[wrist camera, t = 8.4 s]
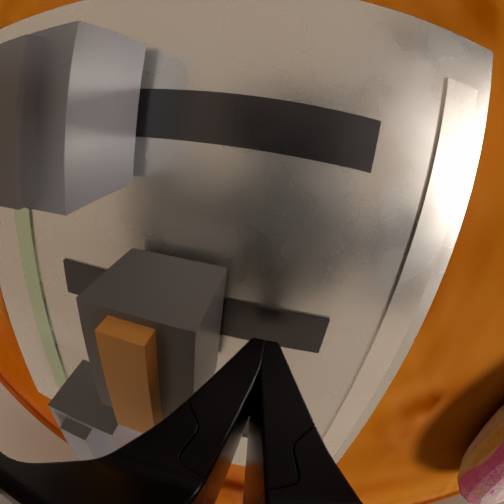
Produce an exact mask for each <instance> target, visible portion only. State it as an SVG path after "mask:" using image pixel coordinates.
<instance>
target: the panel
mask: <svg viewBox="0 0 504 504" xmlns="http://www.w3.org/2000/svg"><path fill="white" fill-rule="evenodd" d="M74 21H83V22H86V23H89V24H93V25H96V26H99V27H102V28H105V29H108V30H111V31H114V32H117V33H120V34H123V35H125V36H128V37H131V38H134V39H136V40H139V41H142V42H144V43H147V45H146V51H145V58H144V64H143V71H142V79H141V86H140V95H139V103H138V113H137V124H136V136H135V150H134V167H133V183H132V184H130V185H128V186H126V187H124V188H121V189H119V190H117V191H115V192H113V193H111V194H109V195H107V196H104V197H102V198H100V199H98V200H96V201H94V202H92V203H90V204H88V205H86V206H84V207H82V208H80V209H78V210H76V211H74V212H72V213H70V214H68V215H67V216H65V215H60V214H55V213H49V212H44V211H39V210H34V209H28V208H22V209H20V210H16V209H11V208H6V207H1V206H0V286H1V290H2V294H3V298H4V301H5V305H6V308H7V311H8V315H9V318H10V321H11V324H12V327H13V330H14V333H15V336H16V338H17V341H18V344H19V347H20V349H21V352H22V355H23V357H24V360H25V362H26V365H27V367H28V369H29V372H30V374H31V376H32V379H33V381H34V383H35V385H36V388H37V390H38V392H39V393H41V394H43V395H45V396H47V397H49V398H50V399H53V397H54V396H55V395H56V393H57V392H58V391H59V390H60V388H61V387H62V386H63V384H64V383H65V382H66V380H67V379H68V378H69V377H70V375H71V374H72V373H73V371H74V370H75V369H76V368H77V366H78V365H79V364H80V362H81V361H82V360H83V359H84V360H86V361H89V358H88V354H87V350H86V345H85V341H84V337H83V332H82V327H81V322H80V317H79V312H78V307H77V301H76V297H77V296H78V295H79V294H80V293H82V292H83V291H84V290H85V289H86V288H87V287H88V286H89V285H90V284H91V283H93V282H94V281H95V280H96V279H97V278H98V277H99V276H100V275H102V274H103V273H104V272H105V271H106V270H107V269H108V268H109V267H111V266H112V265H113V264H114V263H115V262H116V261H118V260H119V259H120V258H121V257H122V256H123V255H124V254H126V253H127V252H128V251H129V250H130V249H132V248H136V249H141V250H145V251H150V252H155V253H159V254H164V255H169V256H174V257H178V258H183V259H188V260H193V261H198V262H203V263H207V264H212V265H217V266H222V267H227V277H226V285H225V294H224V303H223V311H222V320H221V329H220V339H219V348H218V357H217V367H216V370H215V373H216V372H217V371H218V370H219V369H220V368H222V367H223V366H224V365H225V364H226V363H227V362H228V361H229V360H230V359H231V358H232V357H233V356H234V355H235V354H236V353H237V352H238V351H239V350H240V349H241V348H242V347H243V346H244V345H245V344H246V343H247V342H248V341H249V340H250V339H252V338H258V339H263V340H265V341H266V340H268V341H273V342H278V343H279V345H280V347H281V349H282V352H283V354H284V356H285V358H286V361H287V363H288V365H289V367H290V370H291V372H292V374H293V376H294V378H295V381H296V383H297V385H298V387H299V390H300V392H301V394H302V396H303V398H304V401H305V403H306V405H307V407H308V410H309V412H310V414H311V416H312V418H313V421H314V423H315V426H316V427H317V429H318V431H319V434H320V436H321V438H322V440H323V442H324V444H325V446H326V448H327V450H328V451H329V453H330V455H331V456H332V458H333V460H334V461H335V463H336V464H337V462H338V461H339V460H340V458H341V457H342V456H343V454H344V453H345V452H346V450H347V449H348V448H349V446H350V445H351V443H352V442H353V441H354V439H355V438H356V436H357V435H358V434H359V432H360V431H361V429H362V428H363V426H364V425H365V423H366V422H367V420H368V419H369V417H370V416H371V414H372V413H373V411H374V410H375V408H376V406H377V405H378V403H379V402H380V400H381V398H382V397H383V395H384V394H385V392H386V390H387V389H388V387H389V385H390V384H391V382H392V380H393V378H394V377H395V375H396V373H397V371H398V370H399V368H400V366H401V364H402V362H403V361H404V359H405V357H406V355H407V353H408V351H409V349H410V347H411V345H412V343H413V341H414V339H415V337H416V335H417V333H418V331H419V329H420V327H421V325H422V323H423V321H424V319H425V317H426V315H427V312H428V310H429V308H430V306H431V304H432V301H433V299H434V297H435V294H436V292H437V290H438V287H439V285H440V282H441V280H442V277H443V275H444V272H445V270H446V267H447V265H448V262H449V259H450V257H451V254H452V251H453V248H454V245H455V243H456V240H457V237H458V234H459V231H460V228H461V224H462V221H463V218H464V215H465V211H466V208H467V205H468V201H469V197H470V194H471V190H472V186H473V182H474V178H475V174H476V170H477V166H478V161H479V157H480V152H481V147H482V142H483V136H484V131H485V125H486V118H487V112H488V104H489V96H490V87H491V76H492V62H493V52H492V51H490V50H488V49H486V48H485V47H483V46H481V45H479V44H477V43H475V42H473V41H471V40H469V39H467V38H464V37H462V36H460V35H458V34H456V33H453V32H451V31H449V30H447V29H444V28H442V27H439V26H437V25H434V24H432V23H429V22H427V21H424V20H421V19H419V18H416V17H413V16H410V15H407V14H404V13H401V12H398V11H395V10H392V9H389V8H385V7H382V6H378V5H375V4H371V3H367V2H363V1H359V0H84V1H80V2H76V3H72V4H69V5H65V6H62V7H59V8H55V9H52V10H49V11H46V12H43V13H40V14H37V15H34V16H32V17H29V18H26V19H24V20H21V21H19V22H16V23H14V24H11V25H9V26H6V27H4V28H2V29H0V44H1V43H3V42H6V41H9V40H11V39H14V38H17V37H20V36H23V35H26V34H31V33H34V32H37V31H41V30H44V29H47V28H51V27H55V26H58V25H62V24H66V23H70V22H74ZM215 373H214V374H215ZM248 428H249V418H248V421H247V424H246V426H245V429H244V432H243V434H242V437H241V439H240V442H239V445H238V447H237V450H236V452H235V455H234V458H233V460H232V464H236V465H241V466H246V455H247V441H248Z"/></svg>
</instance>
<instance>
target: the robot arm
mask: <svg viewBox="0 0 504 504" xmlns="http://www.w3.org/2000/svg"><path fill="white" fill-rule="evenodd" d="M248 418H249V428H248V441H247V455H246V468H245V481H244V494H243V504H363V503H362V502H361V501H360V499H359V498H358V496H357V495H356V493H355V492H354V490H353V489H352V487H351V486H350V484H349V483H348V481H347V480H346V478H345V477H344V475H343V474H342V472H341V471H340V469H339V468H338V466H337V465H336V463H335V461H334V460H333V458H332V456H331V455H330V453H329V451H328V450H327V448H326V446H325V444H324V442H323V440H322V438H321V436H320V434H319V431H318V429H317V427H316V426H315V423H314V421H313V418H312V416H311V414H310V412H309V410H308V407H307V405H306V403H305V401H304V398H303V396H302V394H301V392H300V390H299V387H298V385H297V383H296V381H295V378H294V376H293V374H292V372H291V370H290V367H289V365H288V363H287V361H286V358H285V356H284V354H283V352H282V349H281V347H280V345H279V343H278V342H273V341H268V340H266V341H265V340H263V339H258V338H252V339H250V340H249V341H248V342H247V343H246V344H245V345H244V346H243V347H242V348H241V349H240V350H239V351H238V352H237V353H236V354H235V355H234V356H233V357H232V358H231V359H230V360H229V361H228V362H227V363H226V364H225V365H224V366H223V367H222V368H220V369H219V370H218V371H217V372H216V373H215V374H214V375H213V376H212V377H211V378H210V379H209V380H208V381H207V382H206V383H205V384H203V385H202V386H201V387H200V388H199V389H198V390H197V391H196V392H195V393H194V394H193V395H192V396H190V397H189V398H188V399H187V401H185V402H184V403H183V404H181V405H180V406H179V407H178V408H177V409H176V410H175V411H173V412H172V413H171V414H170V415H169V416H167V417H166V418H165V419H164V420H162V421H161V422H159V423H158V424H156V425H155V426H154V427H152V428H151V429H149V430H148V431H146V432H144V433H143V434H141V435H140V436H138V437H137V438H135V439H133V440H132V441H130V442H129V443H127V444H125V445H124V446H122V447H120V448H119V449H117V450H115V451H114V452H112V453H110V454H108V455H105V456H102V457H100V458H96V459H90V460H81V461H68V462H52V463H25V462H20V461H16V460H14V459H11V458H9V457H7V456H6V455H4V454H3V453H1V452H0V504H215V502H216V499H217V497H218V495H219V492H220V490H221V487H222V485H223V482H224V480H225V478H226V475H227V473H228V470H229V468H230V465H231V463H232V460H233V458H234V455H235V452H236V450H237V447H238V445H239V442H240V439H241V437H242V434H243V432H244V429H245V426H246V424H247V421H248Z"/></svg>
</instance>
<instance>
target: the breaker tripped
mask: <svg viewBox="0 0 504 504" xmlns="http://www.w3.org/2000/svg"><path fill="white" fill-rule="evenodd" d="M226 277H227V267H222V266H217V265H212V264H207V263H203V262H198V261H193V260H188V259H183V258H178V257H174V256H169V255H164V254H159V253H155V252H150V251H145V250H141V249H136V248H132V249H130V250H129V251H128V252H127V253H126V254H124V255H123V256H122V257H121V258H120V259H119V260H118V261H116V262H115V263H114V264H113V265H112V266H111V267H109V268H108V269H107V270H106V271H105V272H104V273H103V274H102V275H100V276H99V277H98V278H97V279H96V280H95V281H94V282H93V283H91V284H90V285H89V286H88V287H87V288H86V289H85V290H84V291H83V292H82V293H80V294H79V295H78V296H77V297H76V301H77V307H78V312H79V317H80V322H81V327H82V332H83V337H84V341H85V345H86V350H87V354H88V358H89V362H90V366H91V369H92V373H93V377H94V380H95V384H96V387H97V391H98V394H99V397H100V401H101V403H102V404H104V405H107V406H109V407H112V408H113V410H114V413H115V417H116V420H117V423H118V424H119V425H122V426H124V427H127V428H130V429H132V430H135V431H138V432H141V433H144V432H146V431H148V430H149V429H151V428H152V427H154V426H155V425H156V424H158V423H159V422H161V421H162V420H164V419H165V418H166V417H167V416H169V415H170V414H171V413H172V412H173V411H175V410H176V409H177V408H178V407H179V406H180V405H181V404H183V403H184V402H185V401H187V399H188V398H189V397H190V396H192V395H193V394H194V393H195V392H196V391H197V390H198V389H199V388H200V387H201V386H202V385H203V384H205V383H206V382H207V381H208V380H209V379H210V378H211V377H212V376H213V375H214V373H215V370H216V367H217V357H218V348H219V339H220V329H221V320H222V311H223V303H224V294H225V285H226Z"/></svg>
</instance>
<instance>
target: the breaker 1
mask: <svg viewBox="0 0 504 504" xmlns="http://www.w3.org/2000/svg"><path fill="white" fill-rule="evenodd" d="M146 45H147V43H144V42H142V41H139V40H136V39H134V38H131V37H128V36H125V35H123V34H120V33H117V32H114V31H111V30H108V29H105V28H102V27H99V26H96V25H93V24H89V23H86V22H83V21H74V22H70V23H66V24H62V25H58V26H55V27H51V28H47V29H44V30H41V31H37V32H34V33H31V34H26V35H23V36H20V37H17V38H14V39H11V40H9V41H6V42H3V43H1V44H0V206H1V207H6V208H11V209H16V210H20V209H22V208H28V209H34V210H39V211H44V212H49V213H55V214H60V215H65V216H67V215H68V214H70V213H72V212H74V211H76V210H78V209H80V208H82V207H84V206H86V205H88V204H90V203H92V202H94V201H96V200H98V199H100V198H102V197H104V196H107V195H109V194H111V193H113V192H115V191H117V190H119V189H121V188H124V187H126V186H128V185H130V184H132V183H133V167H134V150H135V136H136V124H137V113H138V103H139V95H140V86H141V79H142V71H143V64H144V58H145V51H146Z"/></svg>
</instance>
